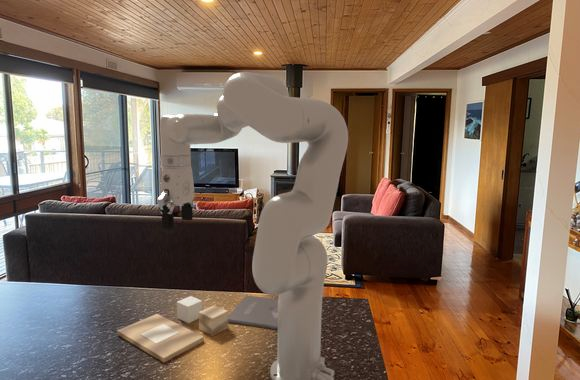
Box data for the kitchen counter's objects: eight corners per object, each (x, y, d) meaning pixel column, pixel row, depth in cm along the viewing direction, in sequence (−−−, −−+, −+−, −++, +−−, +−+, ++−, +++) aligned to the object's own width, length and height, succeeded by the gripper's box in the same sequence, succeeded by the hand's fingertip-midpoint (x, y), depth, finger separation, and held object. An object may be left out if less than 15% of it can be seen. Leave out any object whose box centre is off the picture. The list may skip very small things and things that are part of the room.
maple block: (228, 328, 110) (227, 310, 109) (212, 336, 106) (212, 318, 105) (214, 321, 113) (214, 305, 113) (199, 329, 109) (198, 312, 108)
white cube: (202, 317, 116) (202, 300, 115) (188, 323, 112) (188, 306, 111) (191, 311, 119) (190, 295, 118) (177, 318, 115) (176, 301, 114)
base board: (203, 341, 103) (203, 336, 103) (163, 362, 94) (163, 357, 93) (157, 317, 115) (157, 313, 115) (117, 334, 106) (117, 330, 105)
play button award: (246, 295, 128) (307, 302, 124) (246, 299, 129) (307, 307, 124) (226, 318, 113) (295, 328, 108) (226, 323, 113) (295, 333, 109)
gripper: (170, 165, 99) (173, 233, 102) (204, 159, 115) (205, 217, 118) (144, 164, 101) (147, 230, 104) (180, 158, 117) (182, 215, 120)
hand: (178, 223), depth 111 cm, fingers open, 9 cm apart
